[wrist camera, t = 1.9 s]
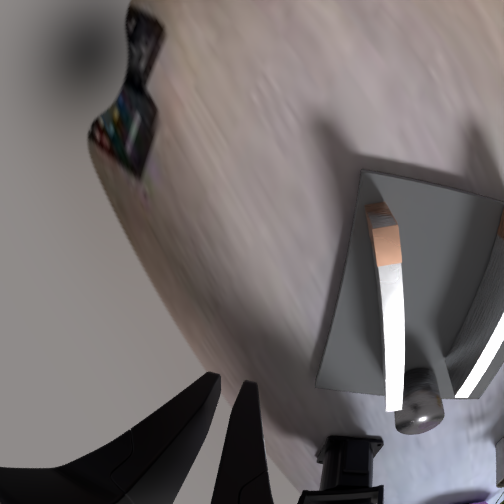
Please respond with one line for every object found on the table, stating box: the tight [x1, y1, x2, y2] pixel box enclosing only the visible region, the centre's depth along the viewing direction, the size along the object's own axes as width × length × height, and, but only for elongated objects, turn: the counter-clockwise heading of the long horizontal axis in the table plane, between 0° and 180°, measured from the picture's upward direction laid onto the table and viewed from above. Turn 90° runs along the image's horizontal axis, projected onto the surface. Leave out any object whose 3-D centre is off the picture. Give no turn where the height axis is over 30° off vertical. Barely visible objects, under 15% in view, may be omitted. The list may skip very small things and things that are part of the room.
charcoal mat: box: [315, 169, 504, 399], centre depth 20 cm, size 18×17×1 cm
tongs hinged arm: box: [364, 201, 444, 435], centre depth 18 cm, size 18×5×4 cm, turn 17°
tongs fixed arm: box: [445, 209, 504, 397], centre depth 16 cm, size 13×1×4 cm, turn 177°
